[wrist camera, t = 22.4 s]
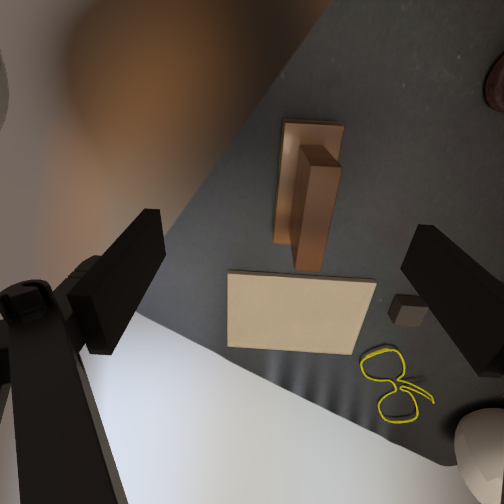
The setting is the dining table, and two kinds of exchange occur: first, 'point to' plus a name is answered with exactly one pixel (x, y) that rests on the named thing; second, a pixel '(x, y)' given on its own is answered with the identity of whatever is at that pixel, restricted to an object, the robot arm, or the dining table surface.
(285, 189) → the brown stepped block
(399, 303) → the dark brown block
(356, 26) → the dining table surface
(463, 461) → the vase
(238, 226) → the dining table surface
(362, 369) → the glasses
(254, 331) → the tile
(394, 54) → the dining table surface
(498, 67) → the can
